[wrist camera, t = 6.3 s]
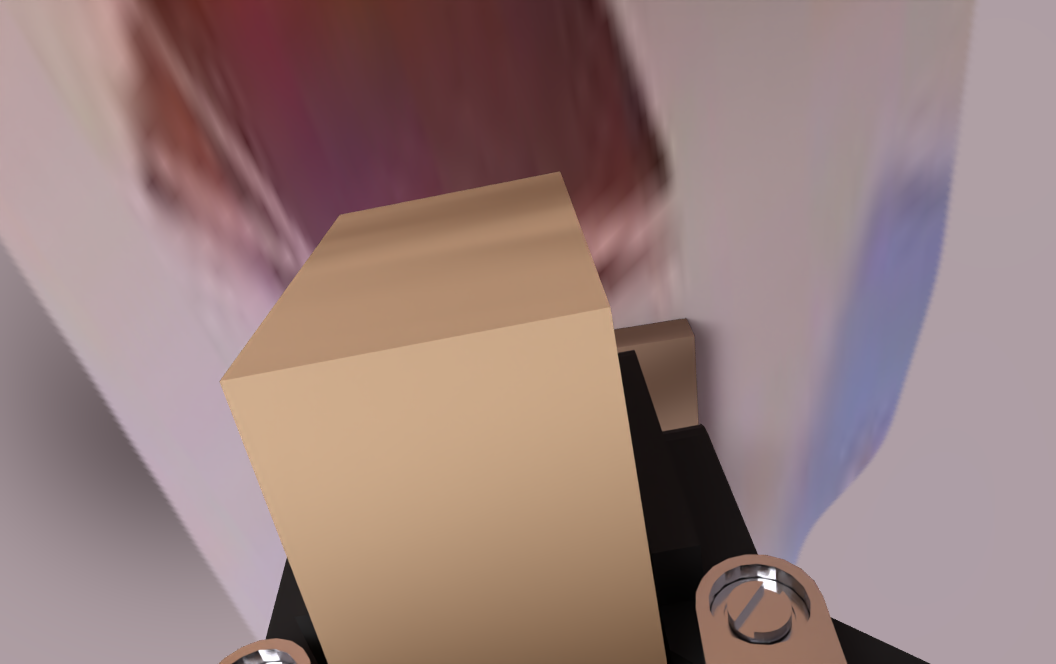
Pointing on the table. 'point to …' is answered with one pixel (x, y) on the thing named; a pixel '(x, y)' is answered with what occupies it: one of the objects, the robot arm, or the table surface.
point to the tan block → (453, 438)
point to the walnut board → (666, 368)
